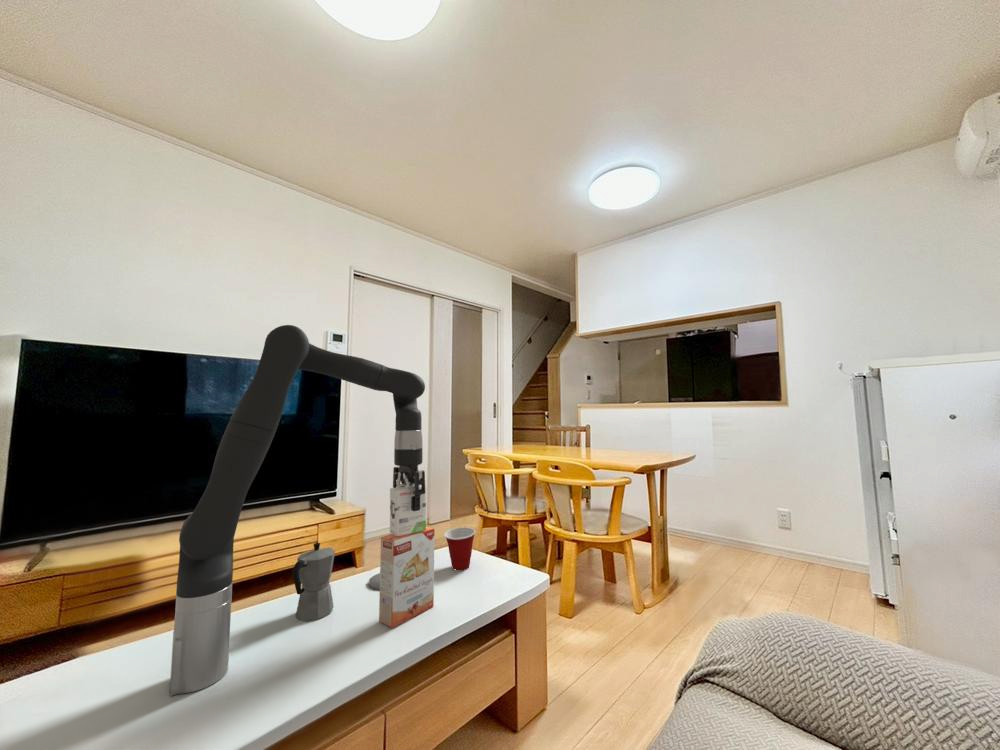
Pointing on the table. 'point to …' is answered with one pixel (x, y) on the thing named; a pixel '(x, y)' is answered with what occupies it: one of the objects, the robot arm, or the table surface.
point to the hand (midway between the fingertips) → (408, 507)
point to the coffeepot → (314, 583)
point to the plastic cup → (460, 546)
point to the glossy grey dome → (375, 581)
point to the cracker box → (406, 576)
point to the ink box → (406, 512)
